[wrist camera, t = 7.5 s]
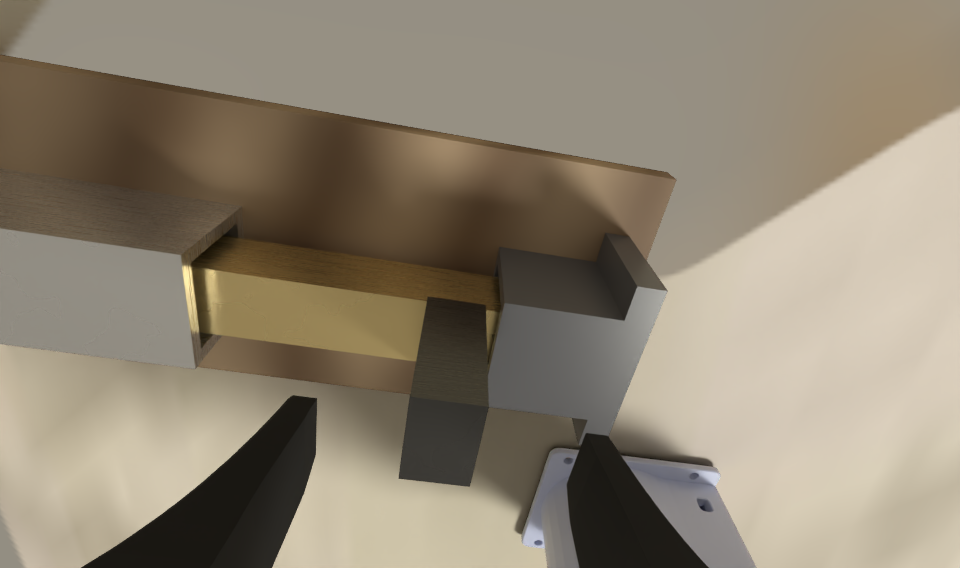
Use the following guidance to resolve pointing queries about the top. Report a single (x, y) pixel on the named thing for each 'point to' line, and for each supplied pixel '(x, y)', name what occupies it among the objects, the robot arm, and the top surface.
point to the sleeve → (104, 268)
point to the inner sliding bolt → (368, 331)
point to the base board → (322, 187)
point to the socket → (572, 332)
